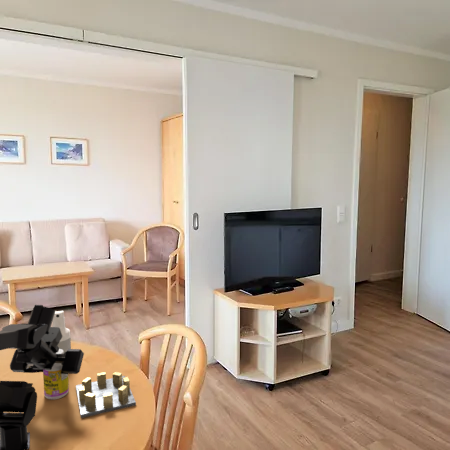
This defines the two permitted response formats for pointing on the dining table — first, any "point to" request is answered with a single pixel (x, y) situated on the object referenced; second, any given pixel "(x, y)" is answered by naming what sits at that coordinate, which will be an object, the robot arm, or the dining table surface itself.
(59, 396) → the supplement bottle
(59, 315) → the spray bottle
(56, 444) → the dining table surface
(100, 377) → the grey tray with blocks
